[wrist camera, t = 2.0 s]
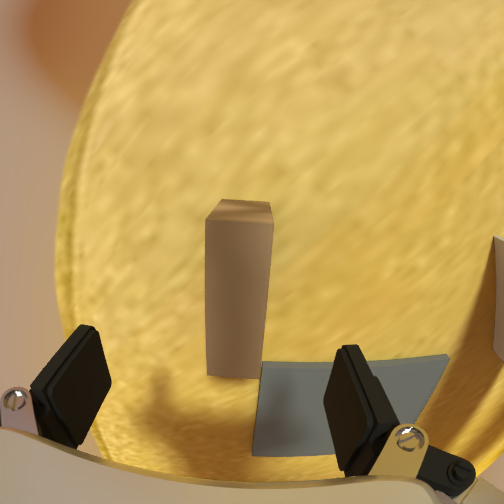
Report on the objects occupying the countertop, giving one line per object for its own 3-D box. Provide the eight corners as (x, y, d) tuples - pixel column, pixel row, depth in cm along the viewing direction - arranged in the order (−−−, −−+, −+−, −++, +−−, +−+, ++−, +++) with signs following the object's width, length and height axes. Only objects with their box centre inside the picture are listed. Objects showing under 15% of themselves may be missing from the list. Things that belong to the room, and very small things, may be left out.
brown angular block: (269, 201, 18) (274, 223, 13) (259, 324, 21) (259, 379, 16) (222, 199, 18) (205, 219, 13) (219, 321, 21) (207, 375, 16)
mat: (446, 353, 22) (449, 358, 22) (398, 439, 27) (400, 444, 26) (262, 361, 22) (262, 367, 22) (252, 450, 27) (251, 456, 26)
